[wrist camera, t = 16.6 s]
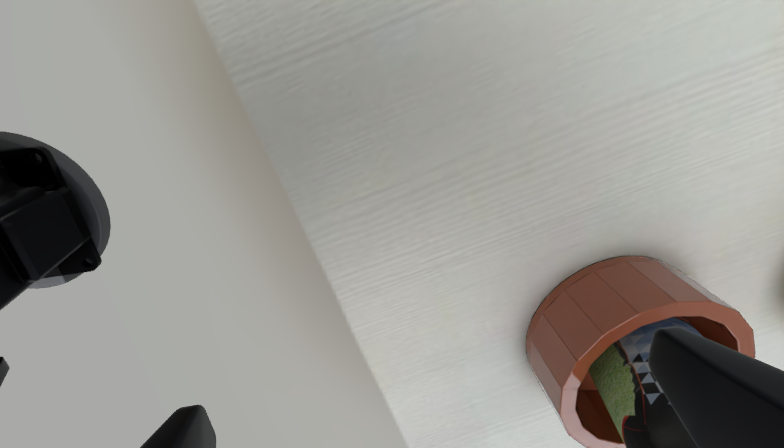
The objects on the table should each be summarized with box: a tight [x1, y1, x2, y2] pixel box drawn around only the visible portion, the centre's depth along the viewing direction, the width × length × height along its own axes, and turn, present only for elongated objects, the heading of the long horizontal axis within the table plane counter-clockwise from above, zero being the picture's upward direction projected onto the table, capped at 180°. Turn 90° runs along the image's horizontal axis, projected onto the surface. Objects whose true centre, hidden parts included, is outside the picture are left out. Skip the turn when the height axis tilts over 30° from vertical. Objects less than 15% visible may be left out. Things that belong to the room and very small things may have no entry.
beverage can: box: [588, 317, 703, 448], centre depth 20 cm, size 6×7×12 cm
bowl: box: [526, 256, 755, 448], centre depth 24 cm, size 11×11×4 cm
